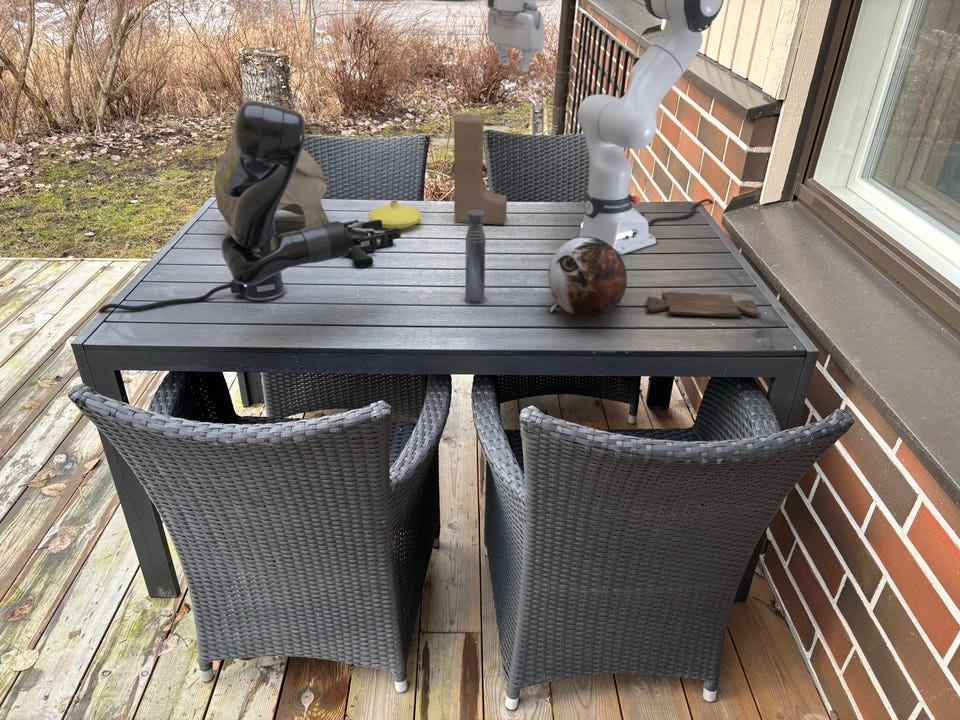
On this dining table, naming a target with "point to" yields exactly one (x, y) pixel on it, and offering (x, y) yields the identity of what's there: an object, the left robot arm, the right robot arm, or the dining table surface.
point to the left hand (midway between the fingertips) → (390, 228)
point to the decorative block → (473, 173)
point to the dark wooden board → (702, 305)
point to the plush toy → (587, 277)
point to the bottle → (475, 264)
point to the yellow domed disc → (396, 215)
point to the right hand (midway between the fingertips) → (513, 68)
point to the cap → (475, 217)
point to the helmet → (291, 193)
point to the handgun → (363, 255)
